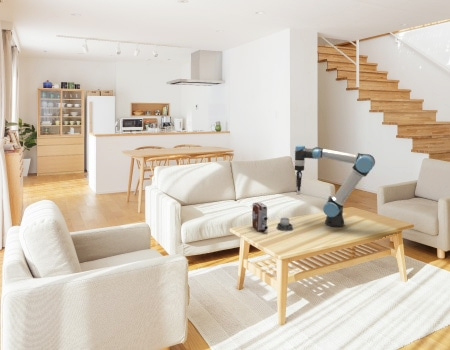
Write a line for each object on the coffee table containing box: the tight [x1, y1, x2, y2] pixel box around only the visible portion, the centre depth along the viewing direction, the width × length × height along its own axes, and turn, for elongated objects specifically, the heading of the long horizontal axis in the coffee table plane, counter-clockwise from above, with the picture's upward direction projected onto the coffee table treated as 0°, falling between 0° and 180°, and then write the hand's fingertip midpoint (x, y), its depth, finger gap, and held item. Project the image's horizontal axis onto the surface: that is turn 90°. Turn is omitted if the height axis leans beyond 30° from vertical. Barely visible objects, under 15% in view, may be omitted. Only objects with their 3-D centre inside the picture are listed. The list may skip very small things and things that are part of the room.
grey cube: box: [279, 217, 290, 227], centre depth 304 cm, size 7×7×7 cm
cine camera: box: [251, 202, 269, 232], centre depth 300 cm, size 9×19×20 cm, turn 15°
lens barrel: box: [276, 222, 294, 232], centre depth 305 cm, size 13×13×3 cm
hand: (298, 194), depth 313 cm, fingers closed
